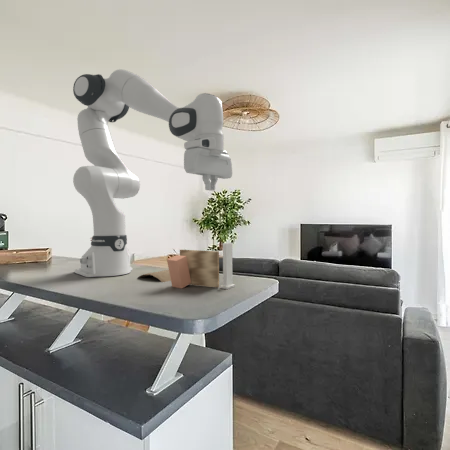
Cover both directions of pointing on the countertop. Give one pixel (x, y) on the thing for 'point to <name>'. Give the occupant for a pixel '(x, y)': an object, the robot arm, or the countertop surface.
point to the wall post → (227, 266)
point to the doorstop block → (179, 271)
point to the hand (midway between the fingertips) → (210, 190)
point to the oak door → (203, 267)
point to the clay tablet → (159, 275)
